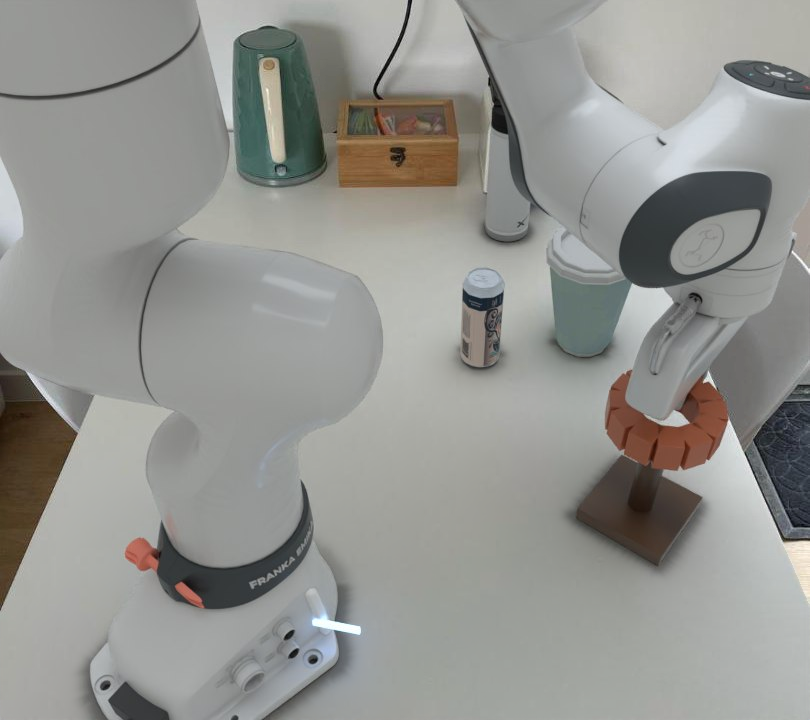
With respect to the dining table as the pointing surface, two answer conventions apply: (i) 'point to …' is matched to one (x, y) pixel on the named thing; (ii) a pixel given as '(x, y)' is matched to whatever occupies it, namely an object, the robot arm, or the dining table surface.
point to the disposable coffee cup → (583, 295)
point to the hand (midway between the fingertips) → (683, 391)
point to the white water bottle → (503, 186)
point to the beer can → (481, 317)
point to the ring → (667, 428)
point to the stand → (639, 508)
